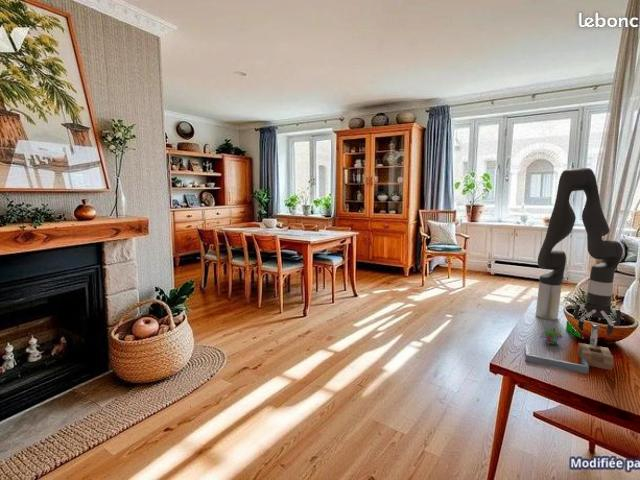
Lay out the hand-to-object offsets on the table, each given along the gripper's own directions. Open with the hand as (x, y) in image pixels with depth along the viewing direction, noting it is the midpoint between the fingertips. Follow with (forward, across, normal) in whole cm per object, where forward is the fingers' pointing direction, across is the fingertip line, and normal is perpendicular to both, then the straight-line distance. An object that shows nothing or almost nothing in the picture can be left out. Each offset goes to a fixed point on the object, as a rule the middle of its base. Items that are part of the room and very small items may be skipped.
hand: (594, 331), depth 140 cm
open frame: (+8, +14, +16) cm, 23 cm away
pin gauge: (+8, 0, 0) cm, 8 cm away
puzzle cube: (+8, 0, -18) cm, 19 cm away
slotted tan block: (+8, +1, +10) cm, 13 cm away
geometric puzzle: (+8, +14, +1) cm, 16 cm away
